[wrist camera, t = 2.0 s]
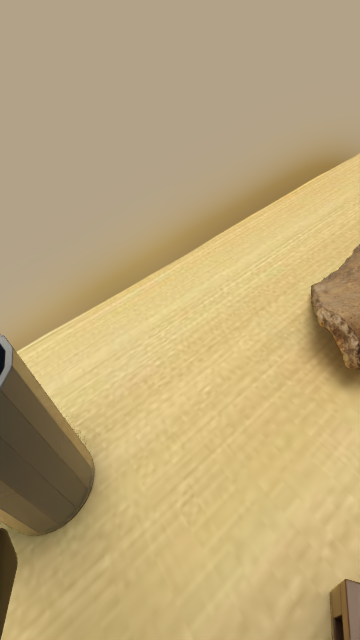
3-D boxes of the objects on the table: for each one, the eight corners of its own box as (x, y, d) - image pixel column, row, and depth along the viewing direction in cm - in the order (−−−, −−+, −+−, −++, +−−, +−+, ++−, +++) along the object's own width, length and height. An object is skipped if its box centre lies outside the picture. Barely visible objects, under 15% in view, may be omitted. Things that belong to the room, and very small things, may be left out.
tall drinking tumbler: (54, 554, 21) (-83, 475, 12) (-16, 510, 24) (-170, 418, 15) (111, 457, 25) (40, 346, 16) (47, 429, 28) (-44, 320, 19)
